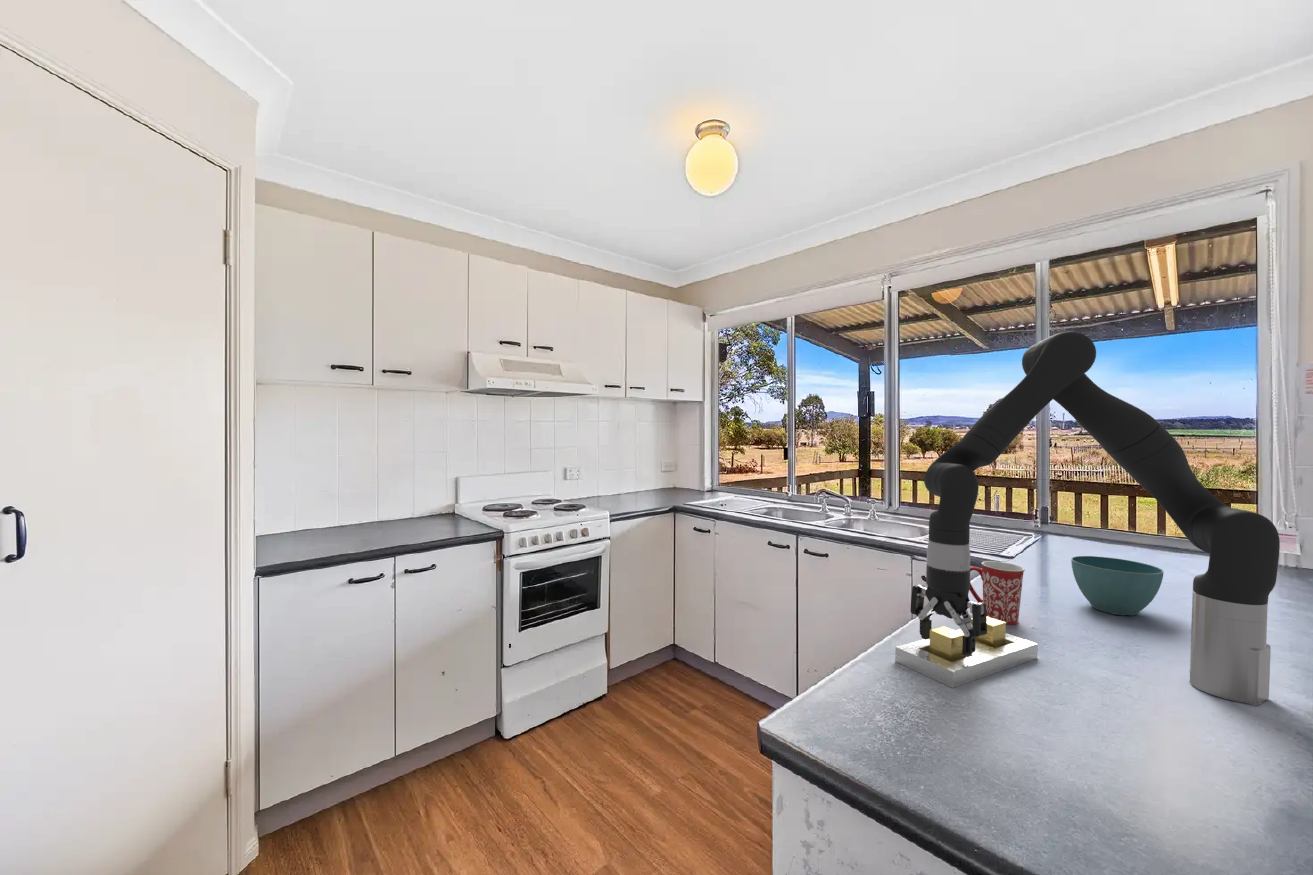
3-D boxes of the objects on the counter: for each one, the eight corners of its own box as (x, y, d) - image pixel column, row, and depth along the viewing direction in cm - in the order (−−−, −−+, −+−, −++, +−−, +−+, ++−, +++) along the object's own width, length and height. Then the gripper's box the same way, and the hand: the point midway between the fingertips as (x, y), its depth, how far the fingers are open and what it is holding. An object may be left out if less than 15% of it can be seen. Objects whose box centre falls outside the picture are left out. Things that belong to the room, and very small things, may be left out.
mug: (1028, 620, 130) (1029, 566, 130) (1016, 629, 124) (1017, 572, 124) (972, 606, 140) (973, 556, 139) (958, 614, 134) (959, 561, 134)
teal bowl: (1070, 594, 151) (1072, 552, 151) (1158, 609, 140) (1159, 563, 140) (1069, 611, 137) (1070, 564, 137) (1165, 629, 126) (1167, 577, 126)
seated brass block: (1004, 655, 110) (1005, 622, 110) (992, 660, 108) (993, 625, 107) (982, 647, 114) (983, 615, 113) (970, 651, 112) (971, 618, 111)
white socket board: (978, 637, 119) (979, 624, 119) (1037, 658, 109) (1037, 643, 108) (895, 661, 106) (895, 646, 106) (952, 688, 95) (953, 671, 95)
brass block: (965, 669, 103) (965, 634, 103) (950, 674, 101) (951, 638, 101) (943, 660, 107) (944, 626, 107) (928, 664, 105) (929, 629, 105)
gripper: (996, 571, 99) (994, 656, 99) (927, 554, 112) (925, 630, 112) (972, 576, 96) (970, 664, 96) (903, 558, 108) (901, 636, 109)
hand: (946, 646), depth 104 cm, fingers open, 8 cm apart
